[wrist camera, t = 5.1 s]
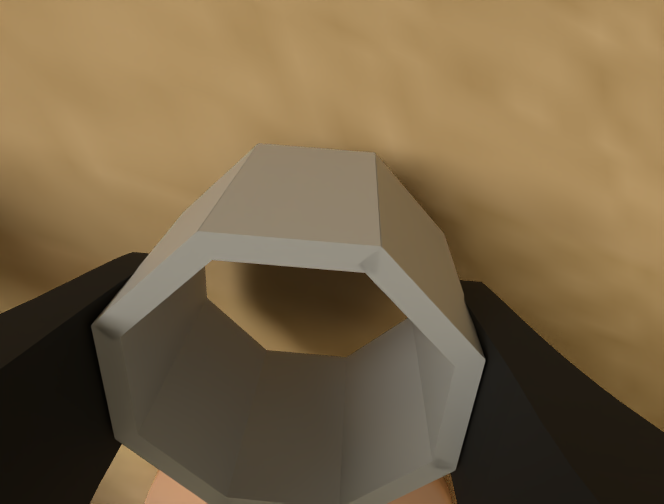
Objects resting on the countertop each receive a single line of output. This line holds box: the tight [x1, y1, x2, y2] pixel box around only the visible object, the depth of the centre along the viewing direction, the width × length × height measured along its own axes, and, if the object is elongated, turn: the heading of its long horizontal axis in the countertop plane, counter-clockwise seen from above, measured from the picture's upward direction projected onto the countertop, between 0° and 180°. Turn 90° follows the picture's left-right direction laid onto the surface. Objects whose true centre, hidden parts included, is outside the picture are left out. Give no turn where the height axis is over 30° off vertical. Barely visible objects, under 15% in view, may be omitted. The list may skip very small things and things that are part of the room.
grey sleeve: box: [91, 143, 485, 504], centre depth 9 cm, size 6×6×4 cm
